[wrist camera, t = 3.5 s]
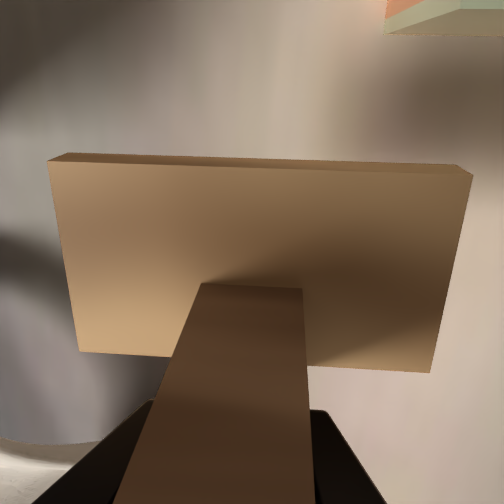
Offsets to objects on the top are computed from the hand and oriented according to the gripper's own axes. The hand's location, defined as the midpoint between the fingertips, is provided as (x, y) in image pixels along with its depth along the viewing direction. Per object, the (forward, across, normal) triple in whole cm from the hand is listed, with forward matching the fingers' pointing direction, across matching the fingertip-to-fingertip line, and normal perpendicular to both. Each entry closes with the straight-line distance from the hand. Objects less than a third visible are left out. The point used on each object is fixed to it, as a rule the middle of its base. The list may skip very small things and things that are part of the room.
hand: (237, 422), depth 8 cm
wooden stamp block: (+4, 0, -1) cm, 4 cm away
